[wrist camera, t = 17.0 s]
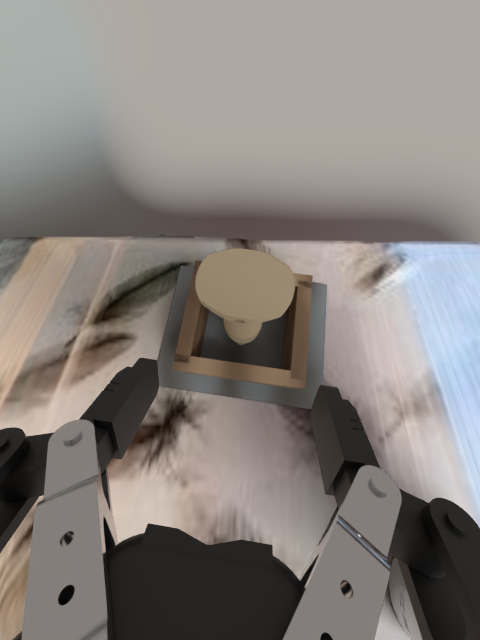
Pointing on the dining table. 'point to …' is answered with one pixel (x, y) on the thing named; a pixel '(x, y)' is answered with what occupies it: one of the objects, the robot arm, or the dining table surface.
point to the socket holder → (246, 348)
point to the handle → (244, 290)
